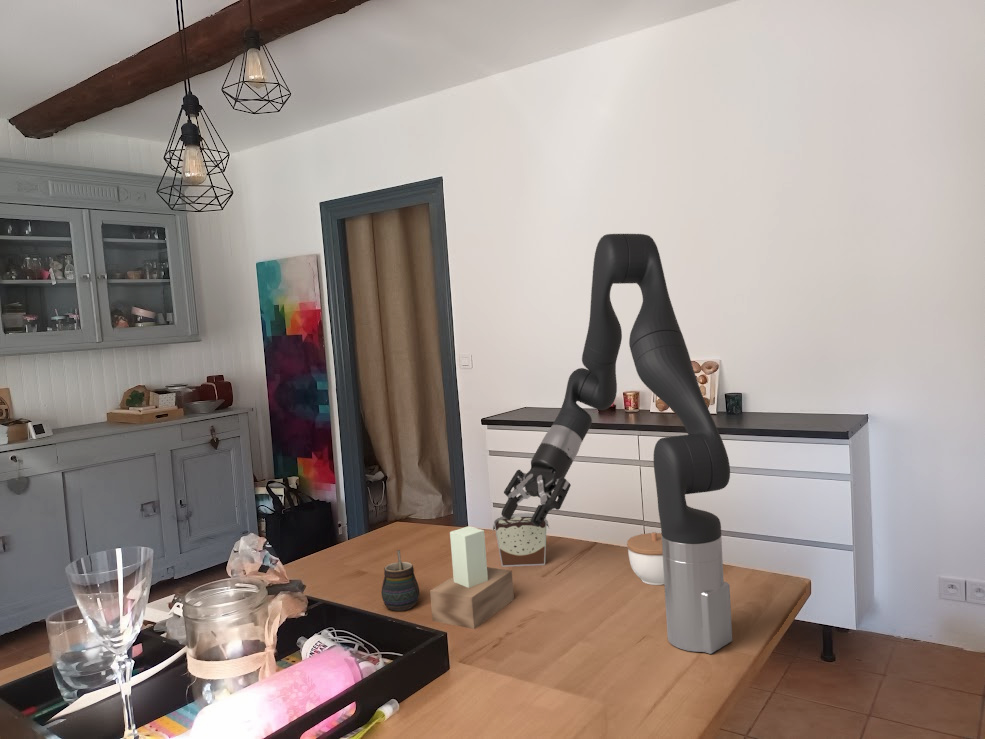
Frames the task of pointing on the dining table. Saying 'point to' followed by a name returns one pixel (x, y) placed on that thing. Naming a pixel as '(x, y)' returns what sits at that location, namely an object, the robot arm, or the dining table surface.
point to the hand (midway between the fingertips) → (519, 520)
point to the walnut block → (471, 599)
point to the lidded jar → (647, 557)
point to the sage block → (468, 556)
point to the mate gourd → (400, 586)
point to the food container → (520, 540)
